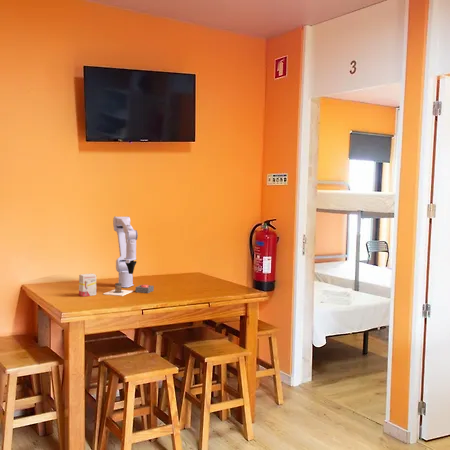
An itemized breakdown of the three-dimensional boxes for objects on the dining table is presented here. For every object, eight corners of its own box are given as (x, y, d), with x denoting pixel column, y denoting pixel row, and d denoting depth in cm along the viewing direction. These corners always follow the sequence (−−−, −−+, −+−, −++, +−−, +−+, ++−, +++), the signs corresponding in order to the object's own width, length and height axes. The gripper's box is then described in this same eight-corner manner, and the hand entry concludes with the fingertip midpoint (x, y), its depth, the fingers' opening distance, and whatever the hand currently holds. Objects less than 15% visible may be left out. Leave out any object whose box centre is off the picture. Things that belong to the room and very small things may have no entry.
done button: (142, 288, 323) (142, 284, 323) (149, 289, 322) (149, 284, 322) (139, 289, 319) (139, 285, 319) (146, 290, 318) (146, 286, 317)
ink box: (82, 296, 301) (82, 275, 300) (78, 295, 305) (78, 274, 304) (96, 295, 307) (96, 274, 306) (92, 293, 311) (92, 273, 310)
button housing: (141, 289, 325) (141, 284, 325) (153, 290, 323) (153, 285, 323) (135, 292, 318) (135, 287, 317) (148, 293, 315) (148, 288, 315)
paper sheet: (114, 290, 322) (114, 289, 322) (133, 291, 319) (133, 290, 319) (103, 294, 309) (103, 293, 309) (122, 296, 306) (122, 295, 306)
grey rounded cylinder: (116, 291, 316) (116, 282, 316) (122, 291, 315) (122, 283, 315) (114, 292, 313) (114, 283, 312) (119, 292, 312) (119, 284, 311)
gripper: (128, 249, 326) (127, 271, 327) (120, 251, 312) (120, 275, 313) (139, 249, 326) (139, 271, 327) (132, 252, 311) (132, 275, 312)
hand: (130, 273), depth 320 cm, fingers closed
